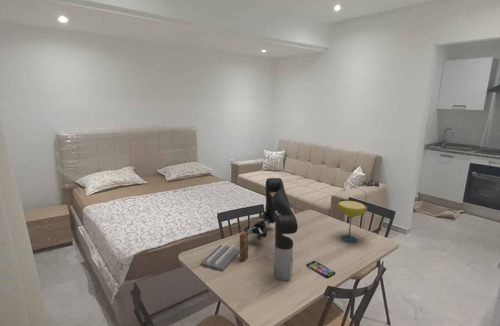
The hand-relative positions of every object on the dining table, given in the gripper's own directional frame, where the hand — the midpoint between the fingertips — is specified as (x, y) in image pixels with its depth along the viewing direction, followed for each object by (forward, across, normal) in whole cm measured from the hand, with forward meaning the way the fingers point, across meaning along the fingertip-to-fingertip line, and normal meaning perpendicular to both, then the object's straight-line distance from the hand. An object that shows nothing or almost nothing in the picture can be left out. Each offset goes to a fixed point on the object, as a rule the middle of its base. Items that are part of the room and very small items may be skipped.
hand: (251, 236), depth 171 cm
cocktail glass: (-41, +54, +9) cm, 68 cm away
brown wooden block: (+11, 0, +9) cm, 14 cm away
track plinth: (+16, -12, +9) cm, 22 cm away
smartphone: (+3, +42, +9) cm, 44 cm away
